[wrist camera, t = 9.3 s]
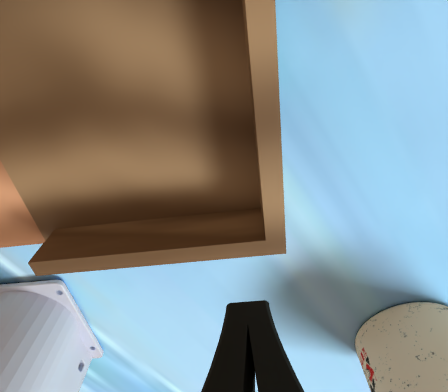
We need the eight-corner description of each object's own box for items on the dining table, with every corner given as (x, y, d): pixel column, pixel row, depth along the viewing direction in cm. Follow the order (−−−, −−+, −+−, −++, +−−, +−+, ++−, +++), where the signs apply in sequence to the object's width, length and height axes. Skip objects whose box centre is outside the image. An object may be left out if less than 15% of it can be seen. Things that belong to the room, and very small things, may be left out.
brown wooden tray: (276, 210, 20) (286, 253, 16) (-54, 244, 22) (-107, 288, 18) (259, -76, 12) (270, -107, 9) (-233, 14, 14) (-375, 17, 11)
